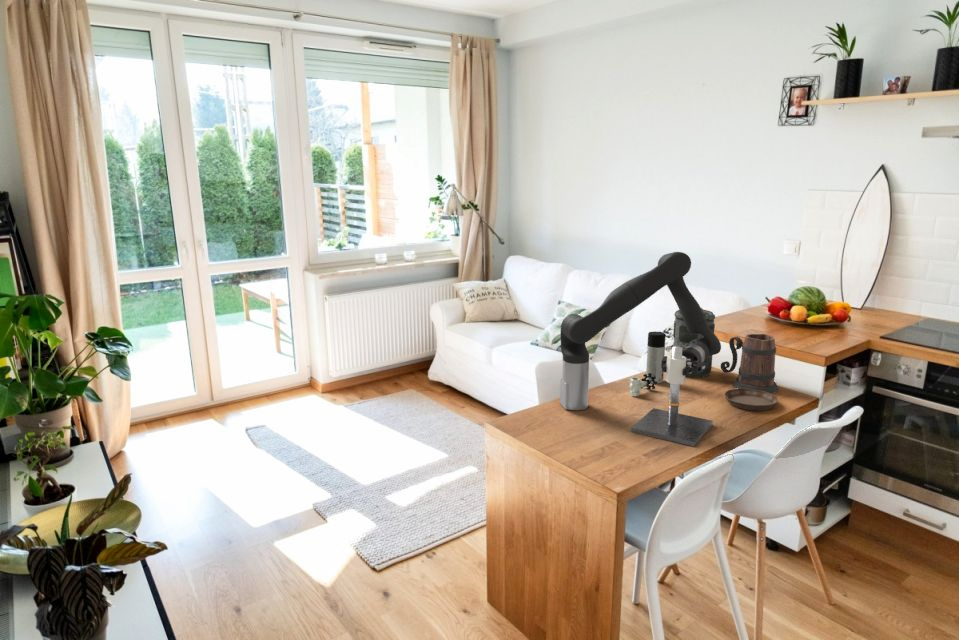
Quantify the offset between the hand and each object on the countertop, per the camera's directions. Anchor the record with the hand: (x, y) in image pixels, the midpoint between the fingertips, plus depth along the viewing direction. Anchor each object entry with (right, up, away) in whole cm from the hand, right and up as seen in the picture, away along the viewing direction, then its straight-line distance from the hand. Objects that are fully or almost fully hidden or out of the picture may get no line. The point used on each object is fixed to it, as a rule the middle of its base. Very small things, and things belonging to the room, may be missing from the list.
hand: (674, 370), depth 192 cm
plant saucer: (+36, -14, +27) cm, 47 cm away
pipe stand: (+1, -19, +6) cm, 20 cm away
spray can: (+8, -9, +51) cm, 52 cm away
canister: (+27, -6, +61) cm, 67 cm away
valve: (0, -12, +39) cm, 41 cm away
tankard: (+44, -9, +47) cm, 65 cm away
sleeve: (+1, -4, +2) cm, 4 cm away
